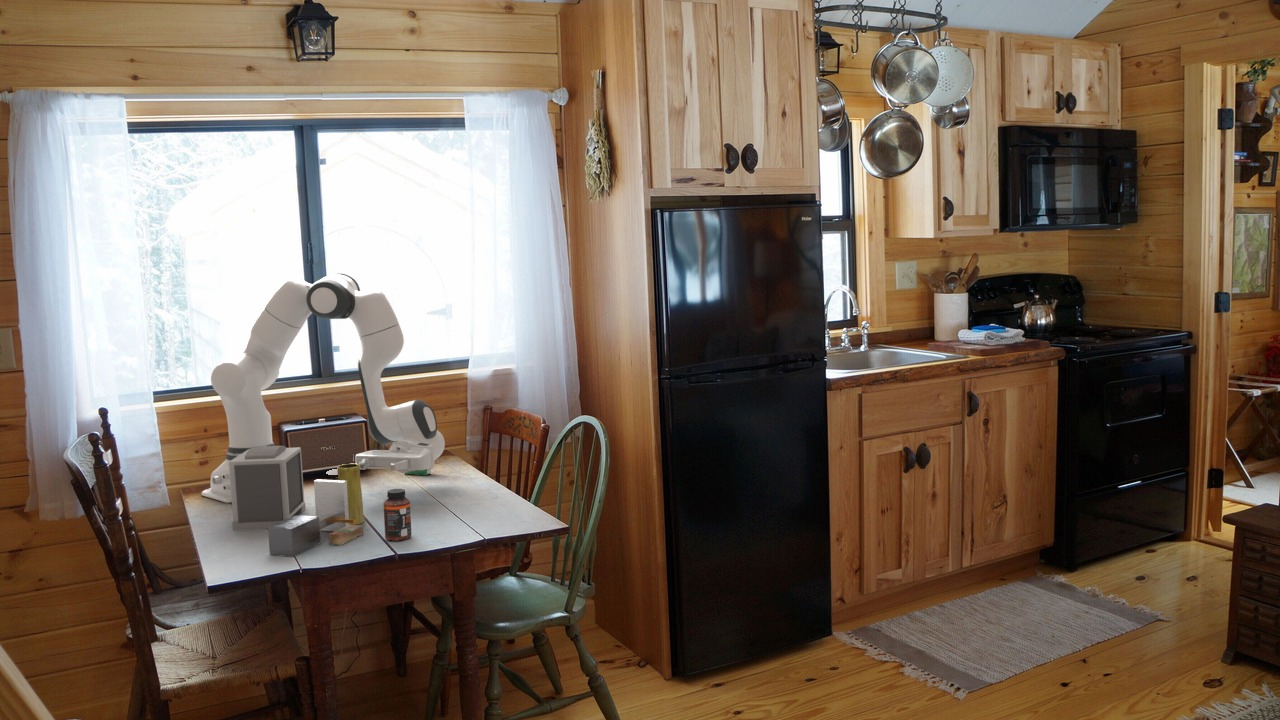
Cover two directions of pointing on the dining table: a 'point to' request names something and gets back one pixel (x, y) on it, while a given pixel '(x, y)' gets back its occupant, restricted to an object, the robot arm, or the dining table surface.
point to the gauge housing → (294, 535)
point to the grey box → (266, 486)
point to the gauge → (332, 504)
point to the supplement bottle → (397, 515)
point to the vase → (352, 490)
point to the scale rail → (345, 534)
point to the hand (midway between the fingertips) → (377, 466)
